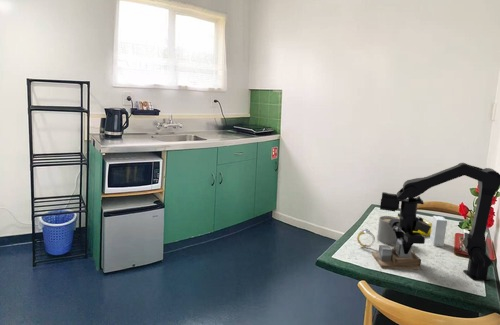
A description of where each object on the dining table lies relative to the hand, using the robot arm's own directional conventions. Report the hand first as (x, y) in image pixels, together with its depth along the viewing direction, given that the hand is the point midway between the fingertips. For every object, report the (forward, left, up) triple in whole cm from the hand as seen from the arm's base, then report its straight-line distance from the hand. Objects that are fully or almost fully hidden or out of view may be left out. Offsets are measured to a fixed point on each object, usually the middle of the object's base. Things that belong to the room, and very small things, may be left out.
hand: (403, 251), depth 137 cm
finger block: (0, 0, -2) cm, 2 cm away
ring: (+13, +11, -5) cm, 17 cm away
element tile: (+37, -21, -5) cm, 43 cm away
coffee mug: (+23, -3, -5) cm, 24 cm away
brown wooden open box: (0, +3, -4) cm, 5 cm away
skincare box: (+20, -23, -5) cm, 31 cm away
